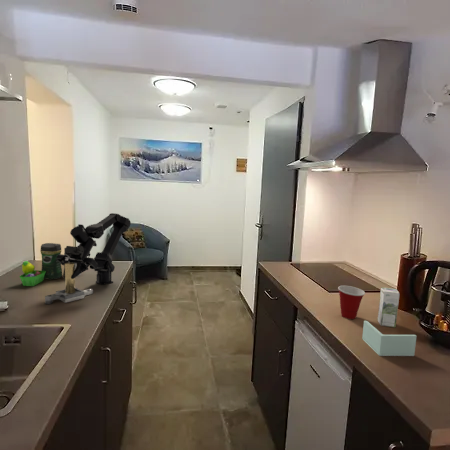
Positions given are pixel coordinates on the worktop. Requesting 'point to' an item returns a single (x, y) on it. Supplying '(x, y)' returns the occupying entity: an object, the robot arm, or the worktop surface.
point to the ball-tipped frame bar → (67, 295)
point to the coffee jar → (51, 260)
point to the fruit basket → (31, 275)
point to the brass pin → (69, 277)
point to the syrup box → (388, 307)
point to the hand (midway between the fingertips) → (67, 277)
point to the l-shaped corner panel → (388, 342)
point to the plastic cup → (350, 301)
